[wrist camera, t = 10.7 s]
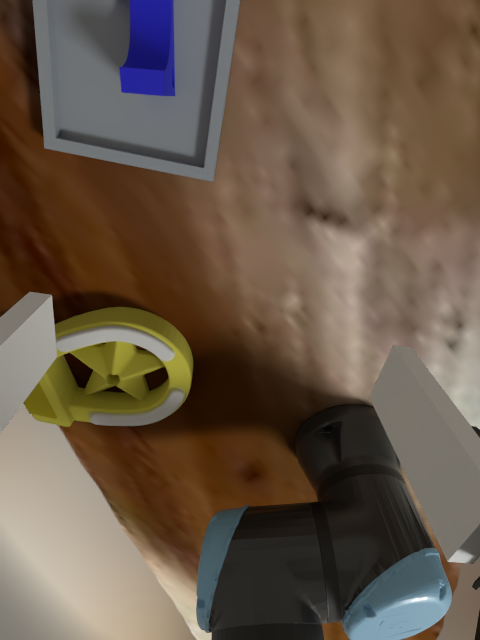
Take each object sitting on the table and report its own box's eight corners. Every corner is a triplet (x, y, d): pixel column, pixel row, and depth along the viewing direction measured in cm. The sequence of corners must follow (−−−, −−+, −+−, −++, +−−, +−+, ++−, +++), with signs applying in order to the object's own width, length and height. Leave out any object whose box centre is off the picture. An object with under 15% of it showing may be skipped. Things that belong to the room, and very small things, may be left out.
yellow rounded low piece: (10, 316, 44) (-14, 340, 39) (180, 298, 43) (174, 321, 38) (60, 412, 52) (45, 440, 48) (202, 399, 51) (200, 427, 47)
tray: (214, 177, 35) (213, 181, 33) (54, 145, 33) (44, 148, 32) (265, -168, 24) (267, -189, 22) (27, -244, 22) (10, -272, 20)
